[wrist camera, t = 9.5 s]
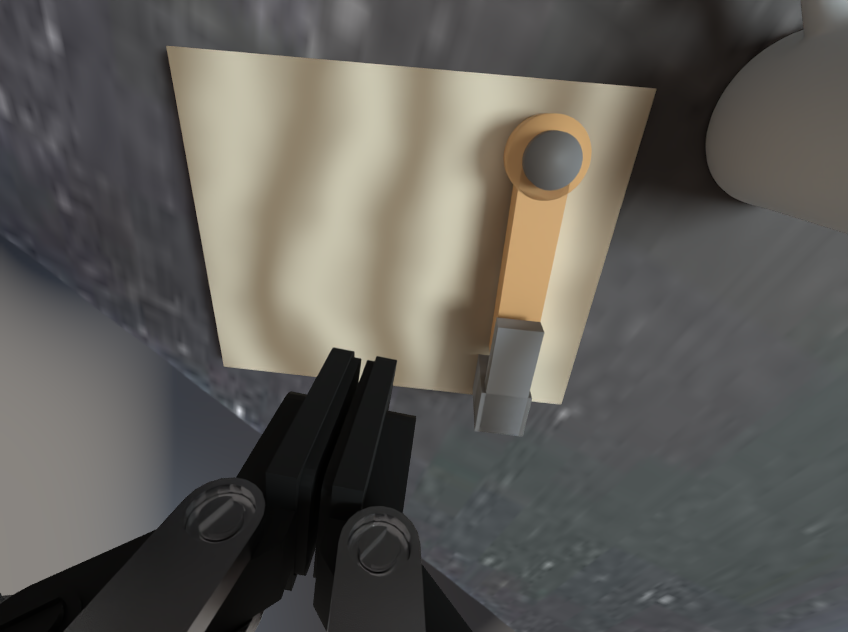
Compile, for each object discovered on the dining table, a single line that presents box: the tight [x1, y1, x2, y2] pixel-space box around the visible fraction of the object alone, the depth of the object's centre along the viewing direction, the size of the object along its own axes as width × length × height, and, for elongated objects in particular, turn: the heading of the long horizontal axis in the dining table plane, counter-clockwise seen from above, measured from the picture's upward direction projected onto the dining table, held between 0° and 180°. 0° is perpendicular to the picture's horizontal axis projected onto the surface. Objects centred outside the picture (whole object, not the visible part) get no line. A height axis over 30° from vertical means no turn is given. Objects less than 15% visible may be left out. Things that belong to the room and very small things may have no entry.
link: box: [489, 113, 592, 350], centre depth 23 cm, size 14×4×2 cm, turn 177°
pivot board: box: [166, 46, 656, 436], centre depth 24 cm, size 25×20×6 cm
